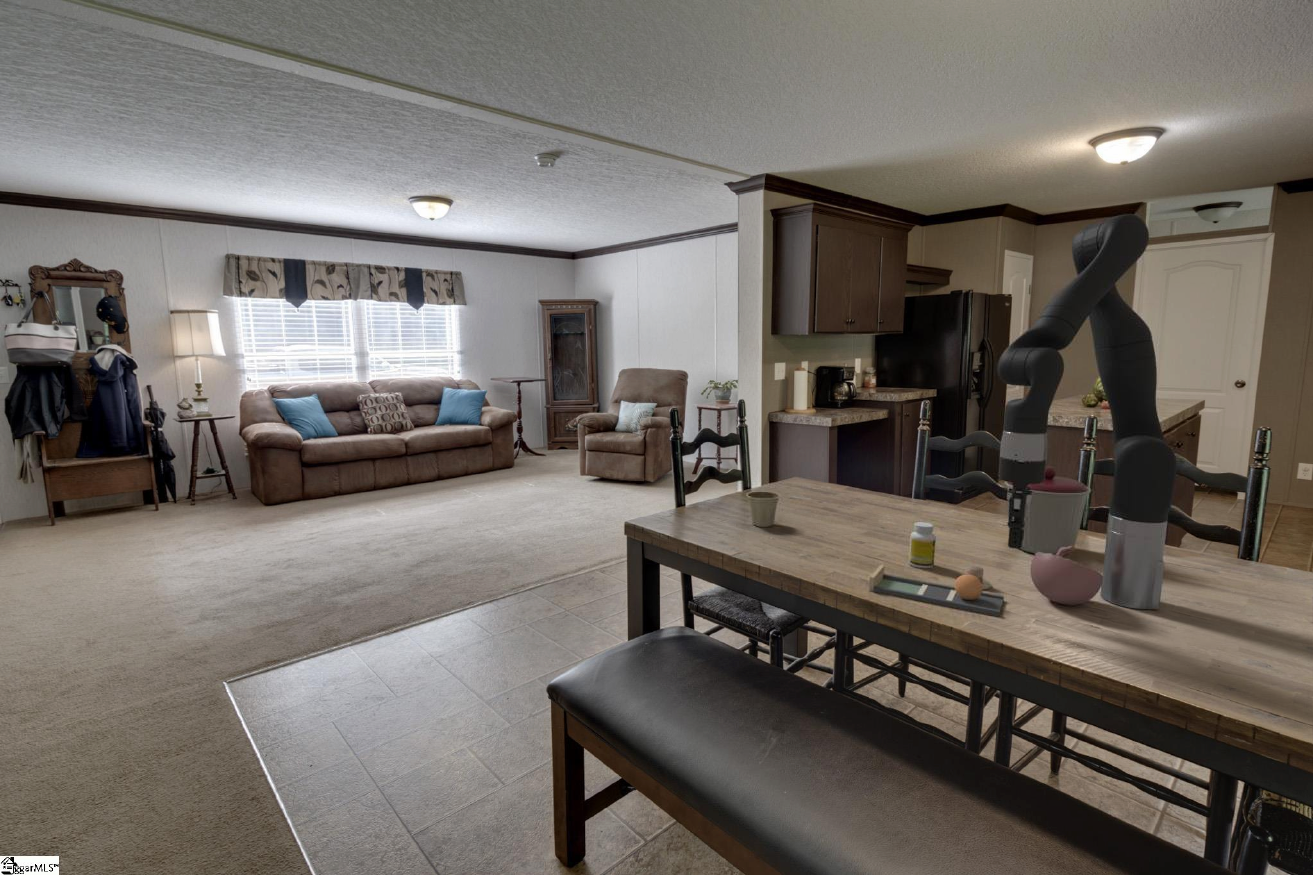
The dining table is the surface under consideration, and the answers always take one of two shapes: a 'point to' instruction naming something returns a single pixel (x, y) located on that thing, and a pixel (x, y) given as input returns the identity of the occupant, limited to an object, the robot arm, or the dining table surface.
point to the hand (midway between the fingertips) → (1015, 543)
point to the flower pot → (763, 507)
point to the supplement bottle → (922, 546)
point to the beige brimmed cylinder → (978, 575)
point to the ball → (968, 587)
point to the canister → (1053, 513)
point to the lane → (933, 593)
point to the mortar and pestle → (1064, 578)
